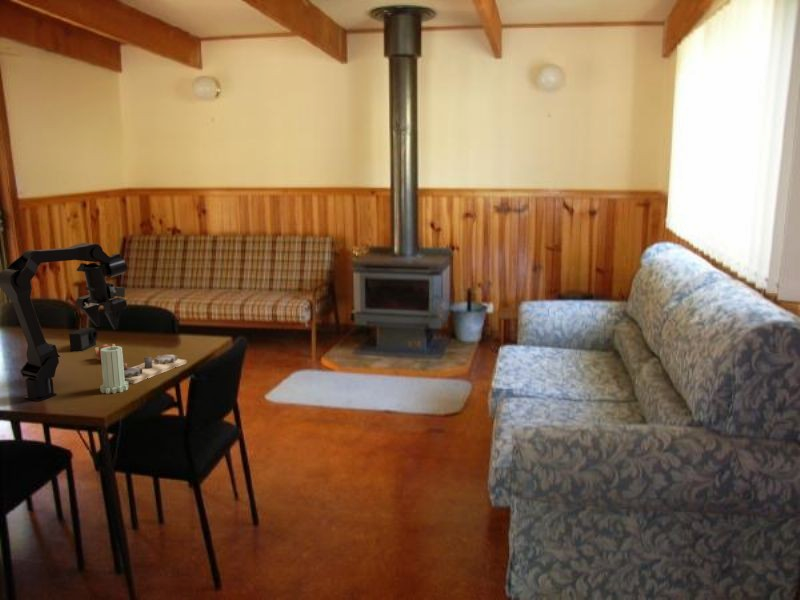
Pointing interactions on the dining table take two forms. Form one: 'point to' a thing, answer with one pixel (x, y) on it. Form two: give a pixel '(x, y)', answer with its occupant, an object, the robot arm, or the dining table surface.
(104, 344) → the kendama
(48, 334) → the dining table surface
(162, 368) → the gear board
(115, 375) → the gear sleeve
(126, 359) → the dining table surface
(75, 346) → the digital camera
